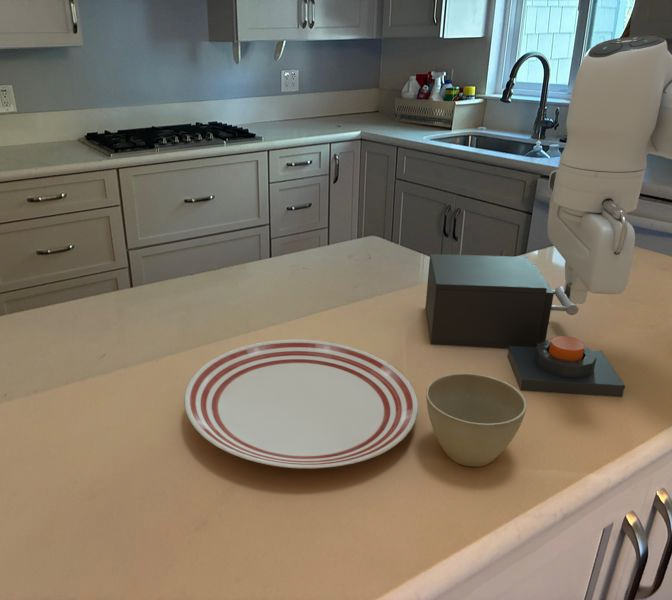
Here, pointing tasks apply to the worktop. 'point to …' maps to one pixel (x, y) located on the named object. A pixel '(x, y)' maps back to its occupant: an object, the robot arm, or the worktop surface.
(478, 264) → the dark grey box
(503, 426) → the olive beige bowl
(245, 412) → the dinner plate
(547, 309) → the drawer
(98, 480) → the worktop surface
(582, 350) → the button
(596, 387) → the control pad
